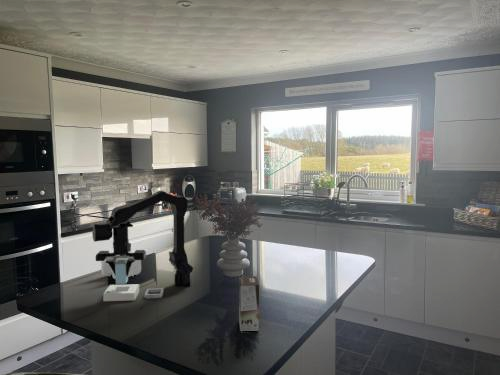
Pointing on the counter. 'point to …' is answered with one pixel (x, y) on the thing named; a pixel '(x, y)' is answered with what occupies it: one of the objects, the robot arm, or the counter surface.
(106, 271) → the cable organizer
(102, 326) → the counter surface
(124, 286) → the port panel
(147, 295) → the gray square frame
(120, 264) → the plug
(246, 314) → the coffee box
